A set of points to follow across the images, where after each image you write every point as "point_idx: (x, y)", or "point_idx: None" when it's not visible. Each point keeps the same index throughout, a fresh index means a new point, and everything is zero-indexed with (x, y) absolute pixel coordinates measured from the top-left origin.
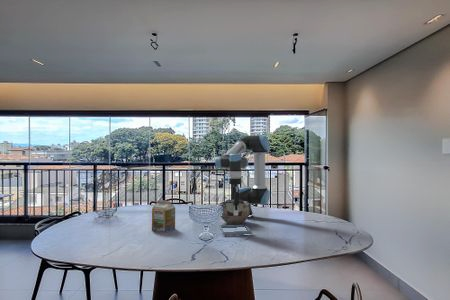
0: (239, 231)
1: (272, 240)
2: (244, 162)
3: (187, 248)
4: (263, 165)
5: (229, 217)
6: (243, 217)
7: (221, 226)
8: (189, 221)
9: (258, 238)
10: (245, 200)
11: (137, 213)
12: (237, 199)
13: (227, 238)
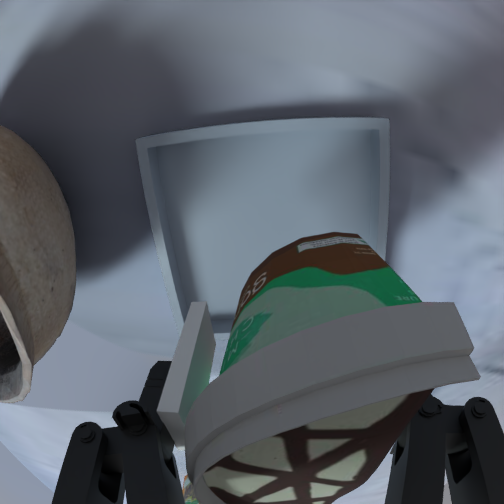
0: (382, 219)
1: (481, 29)
2: None
3: (466, 402)
4: None
5: (74, 291)
6: (40, 164)
7: None
8: (68, 412)
9: (447, 92)
10: None
11: (49, 475)
12: (499, 476)
13: (414, 288)
